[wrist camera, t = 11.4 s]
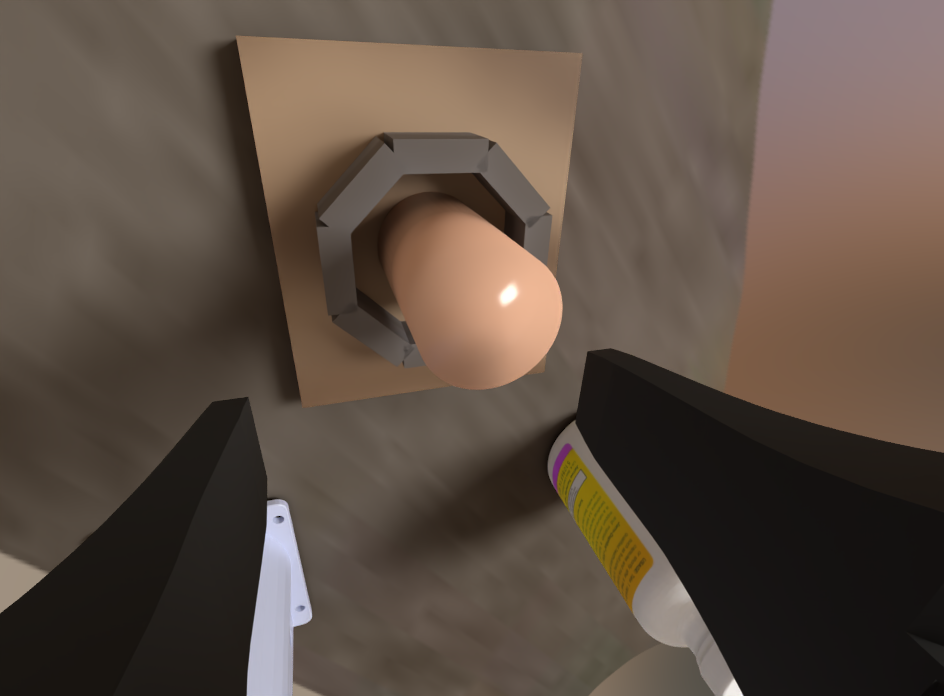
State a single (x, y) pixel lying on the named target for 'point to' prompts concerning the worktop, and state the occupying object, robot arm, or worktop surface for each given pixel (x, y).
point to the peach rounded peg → (467, 292)
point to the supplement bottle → (633, 558)
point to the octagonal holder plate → (395, 181)
